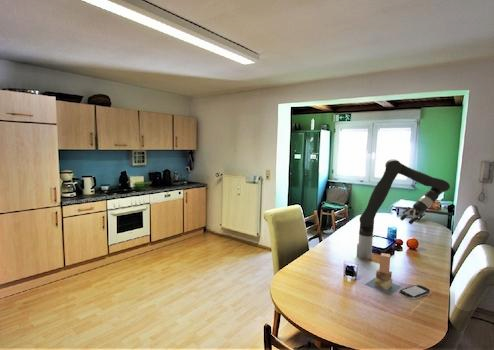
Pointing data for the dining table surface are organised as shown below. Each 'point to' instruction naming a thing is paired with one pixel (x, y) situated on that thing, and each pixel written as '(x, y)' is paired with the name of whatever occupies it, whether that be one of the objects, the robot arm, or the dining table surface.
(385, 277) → the tower top
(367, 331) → the dining table surface
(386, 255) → the terracotta pillar
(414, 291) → the gaming console
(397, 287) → the slate mat
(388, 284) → the tower base
